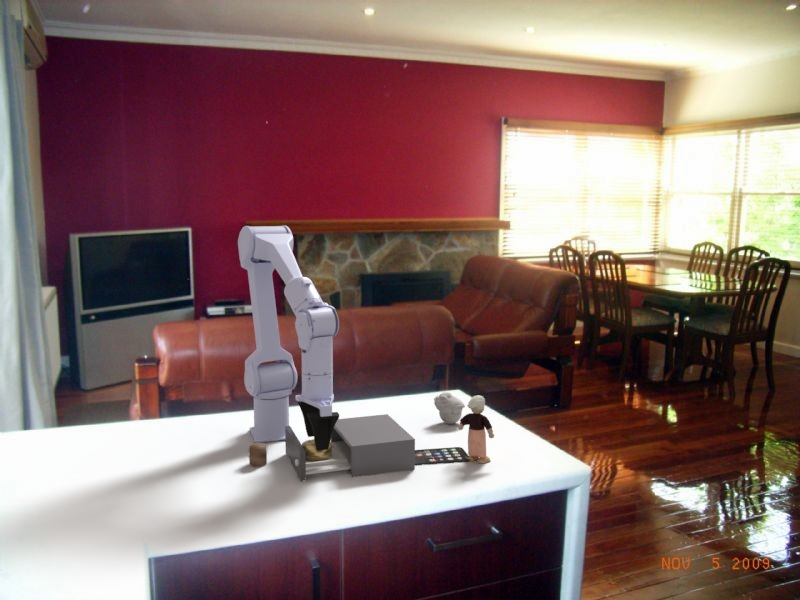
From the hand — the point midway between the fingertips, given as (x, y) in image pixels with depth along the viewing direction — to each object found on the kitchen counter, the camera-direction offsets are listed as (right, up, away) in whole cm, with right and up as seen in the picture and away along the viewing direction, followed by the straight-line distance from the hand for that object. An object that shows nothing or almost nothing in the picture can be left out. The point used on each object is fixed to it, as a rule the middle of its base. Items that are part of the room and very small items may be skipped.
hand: (317, 442), depth 129 cm
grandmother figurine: (+30, -4, +4) cm, 31 cm away
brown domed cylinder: (-11, -4, +1) cm, 12 cm away
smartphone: (+21, -4, +5) cm, 22 cm away
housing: (+10, -4, +4) cm, 11 cm away
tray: (+1, -4, +1) cm, 4 cm away
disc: (0, -3, 0) cm, 3 cm away
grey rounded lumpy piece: (+26, -1, +26) cm, 37 cm away
